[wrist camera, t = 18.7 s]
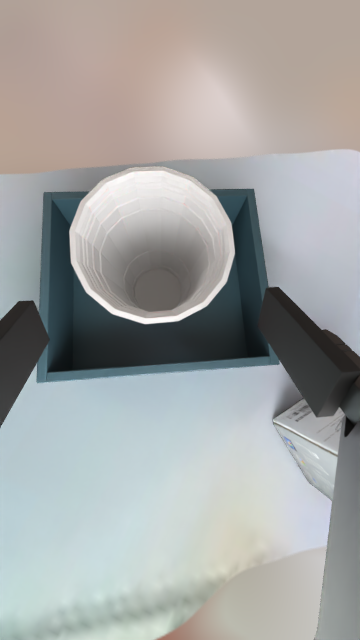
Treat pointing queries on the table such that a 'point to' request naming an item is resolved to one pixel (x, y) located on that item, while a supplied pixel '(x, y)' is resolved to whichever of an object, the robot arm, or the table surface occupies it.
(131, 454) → the table surface
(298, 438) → the hard drive box
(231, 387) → the table surface
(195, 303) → the plastic cup
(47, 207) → the tray
